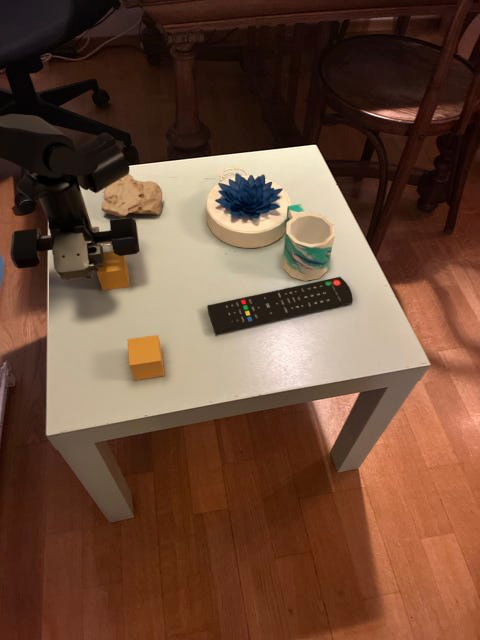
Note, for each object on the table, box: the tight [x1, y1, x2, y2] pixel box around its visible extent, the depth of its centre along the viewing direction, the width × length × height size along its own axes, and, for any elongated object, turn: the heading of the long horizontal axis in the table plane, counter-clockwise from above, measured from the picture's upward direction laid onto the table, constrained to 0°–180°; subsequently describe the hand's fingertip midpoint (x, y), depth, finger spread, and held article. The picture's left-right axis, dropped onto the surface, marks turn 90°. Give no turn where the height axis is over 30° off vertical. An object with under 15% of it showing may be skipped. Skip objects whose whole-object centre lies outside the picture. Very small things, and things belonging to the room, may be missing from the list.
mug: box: [282, 203, 336, 282], centre depth 84 cm, size 8×12×8 cm
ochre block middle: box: [96, 250, 130, 291], centre depth 81 cm, size 4×4×4 cm
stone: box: [101, 173, 163, 218], centre depth 91 cm, size 9×11×5 cm
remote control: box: [206, 276, 354, 335], centre depth 80 cm, size 5×24×1 cm, turn 106°
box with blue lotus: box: [206, 166, 292, 249], centre depth 91 cm, size 7×16×20 cm
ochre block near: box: [127, 334, 165, 381], centre depth 72 cm, size 4×4×4 cm
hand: (89, 277), depth 82 cm, fingers closed
